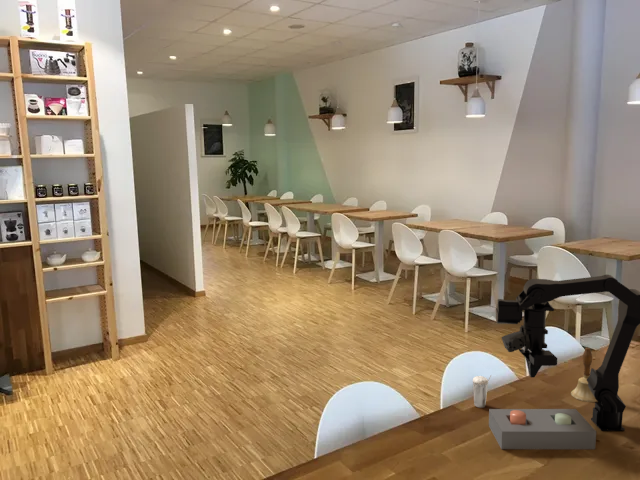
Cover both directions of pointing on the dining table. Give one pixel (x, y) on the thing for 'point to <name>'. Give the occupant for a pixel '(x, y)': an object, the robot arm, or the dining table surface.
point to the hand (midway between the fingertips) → (532, 376)
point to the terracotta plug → (517, 417)
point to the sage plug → (562, 419)
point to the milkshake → (480, 390)
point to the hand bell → (584, 380)
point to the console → (542, 430)
